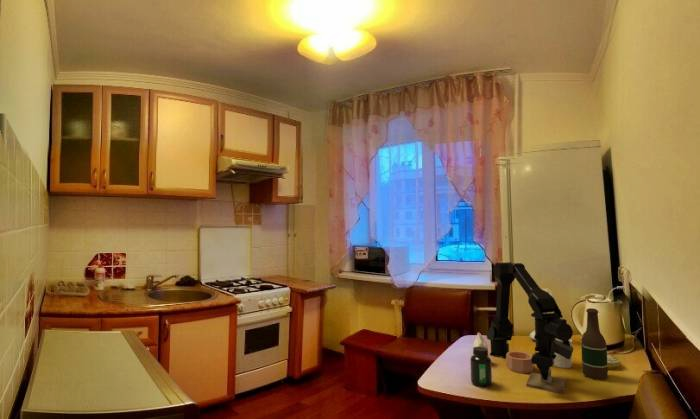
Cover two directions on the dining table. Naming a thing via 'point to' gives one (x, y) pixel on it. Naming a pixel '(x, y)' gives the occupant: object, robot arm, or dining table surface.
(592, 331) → the beer bottle
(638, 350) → the dining table surface
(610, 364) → the decorated donut
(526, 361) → the terracotta bowl
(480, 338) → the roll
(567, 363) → the white cup
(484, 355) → the supplement bottle
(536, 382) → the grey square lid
